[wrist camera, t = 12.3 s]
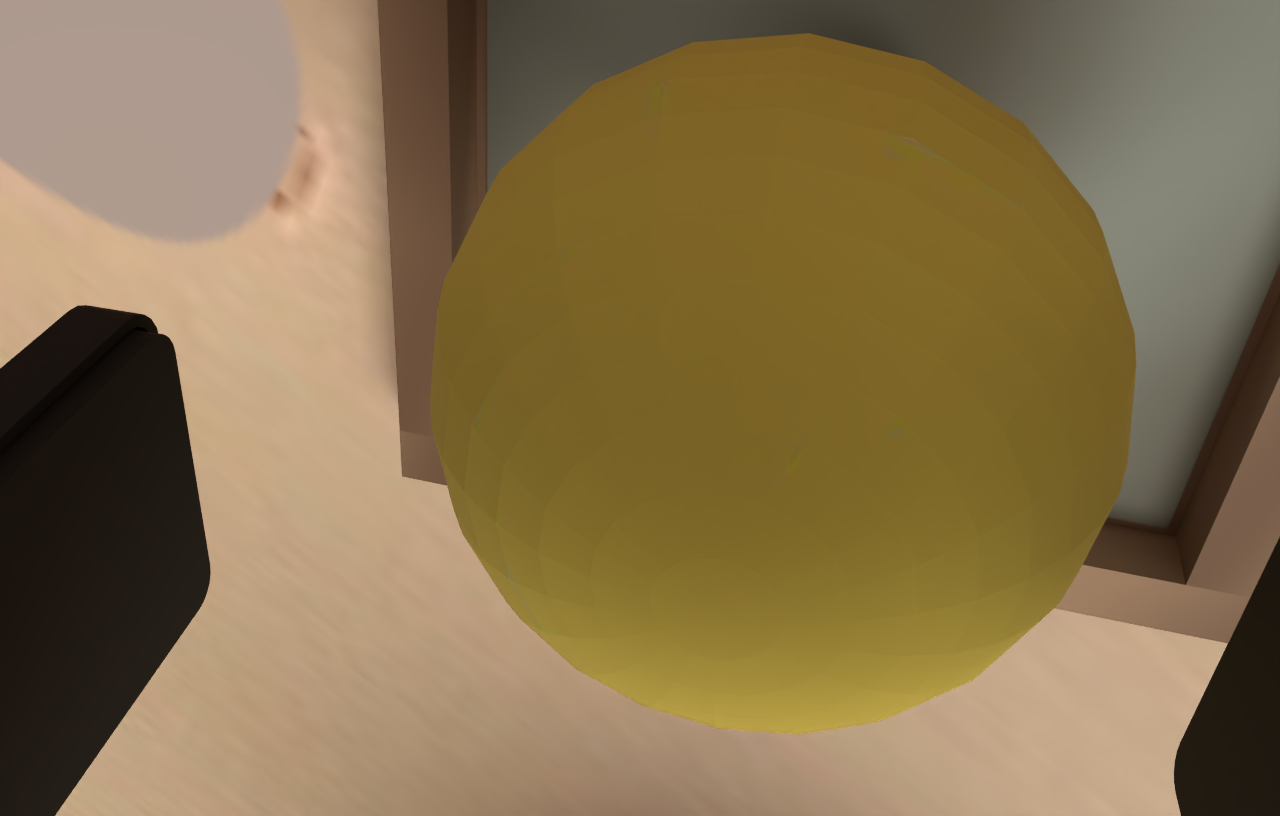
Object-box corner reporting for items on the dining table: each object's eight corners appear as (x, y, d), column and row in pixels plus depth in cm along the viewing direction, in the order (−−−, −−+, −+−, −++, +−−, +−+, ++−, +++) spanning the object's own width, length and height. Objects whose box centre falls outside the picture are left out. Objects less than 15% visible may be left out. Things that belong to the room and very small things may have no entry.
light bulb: (521, 157, 19) (177, 588, 10) (811, -227, 15) (625, -25, 7) (848, 418, 20) (767, 982, 12) (1190, 122, 16) (1418, 647, 8)
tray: (438, 419, 23) (401, 476, 21) (411, -513, 15) (350, -524, 13) (1211, 570, 21) (1229, 643, 19) (1664, -410, 13) (1753, -410, 11)
